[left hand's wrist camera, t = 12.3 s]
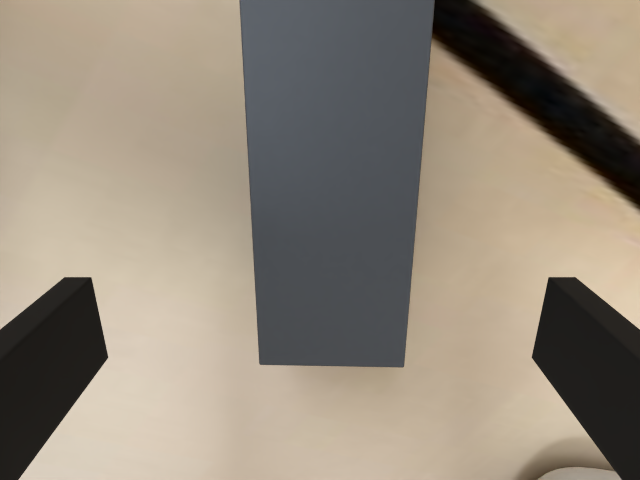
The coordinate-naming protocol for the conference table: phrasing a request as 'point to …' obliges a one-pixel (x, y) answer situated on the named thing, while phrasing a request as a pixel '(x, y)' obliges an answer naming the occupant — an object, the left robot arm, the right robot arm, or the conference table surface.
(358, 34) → the bar
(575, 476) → the projector
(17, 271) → the conference table surface
